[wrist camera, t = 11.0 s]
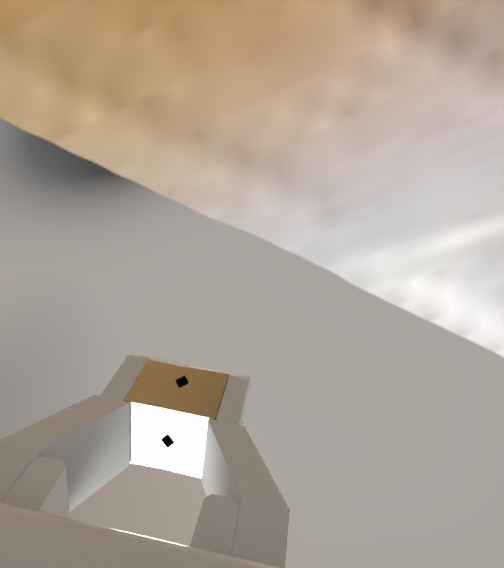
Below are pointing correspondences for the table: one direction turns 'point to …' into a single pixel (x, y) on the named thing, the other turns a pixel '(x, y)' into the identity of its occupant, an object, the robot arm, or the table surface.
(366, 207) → the table surface
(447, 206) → the table surface
